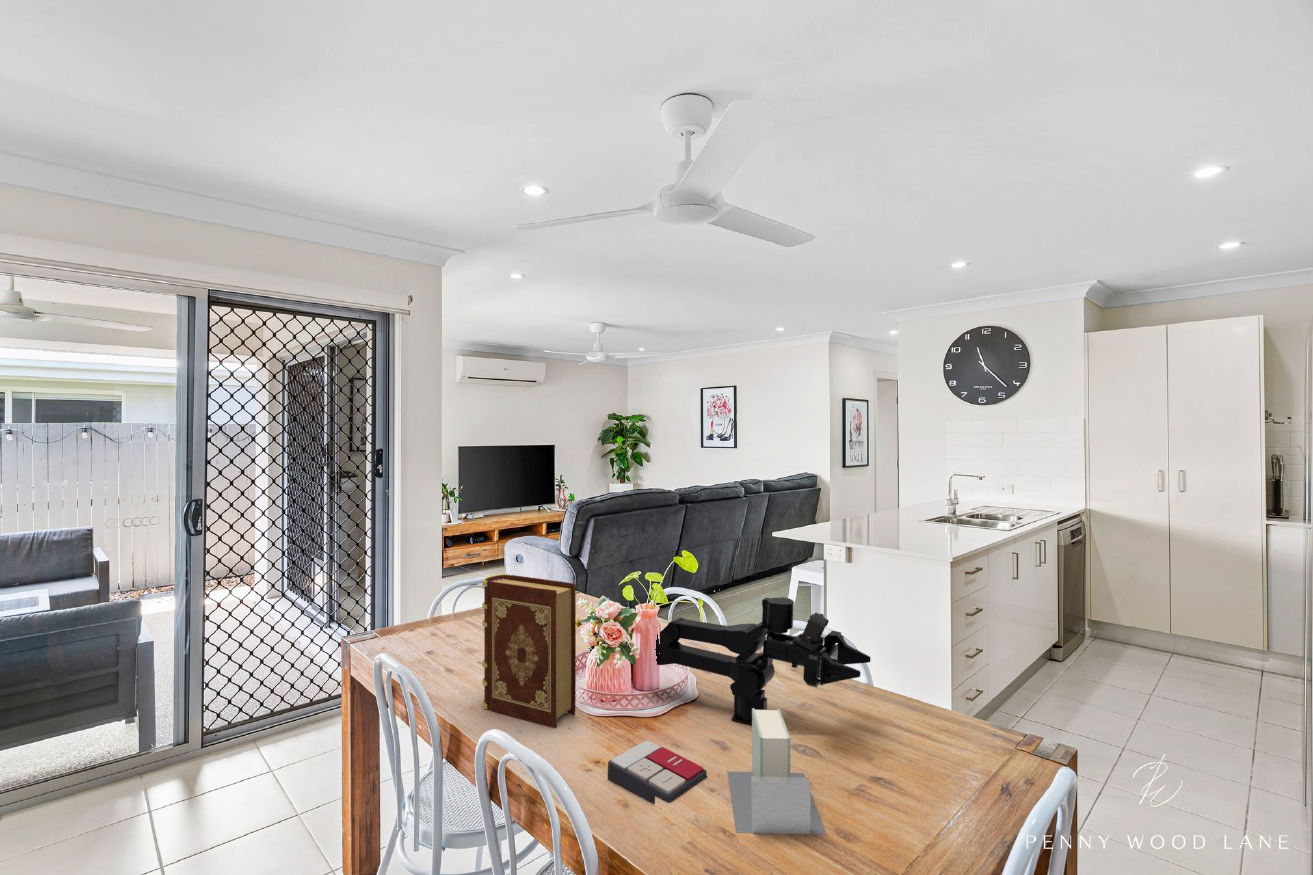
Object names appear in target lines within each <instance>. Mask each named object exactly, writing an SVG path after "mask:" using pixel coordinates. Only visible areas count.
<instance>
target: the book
mask: <svg viewBox="0 0 1313 875" xmlns="http://www.w3.org/2000/svg"><path fill="white" fill-rule="evenodd" d="M751 772H752V776H754V777H790V773H791V736H790V733H789V730H788V728H787V725H786V723H785V719H784V718H783V715H782V712H781V710H780V708H777V709H767V710H755V709H754V708H752V725H751Z"/></svg>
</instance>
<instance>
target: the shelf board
mask: <svg viewBox="0 0 1313 875" xmlns="http://www.w3.org/2000/svg"><path fill="white" fill-rule="evenodd" d="M751 776H752V771H728V770H727V779H728V786H729V794H730V799H731V807H732V813H733V814H732V815H733V819H734V821H733V822H734V826H735V833H737V834H753V833H752V829H751ZM790 777H805V778H806V775H805V773H804V772H790ZM765 834H770V835H772V834H774V835H775V834H776V835H778V834H779V835H781V834H780V833H764V835H765ZM809 835H811V836H812V835H815V836H816V835H819V836H820V835H822V836H826V835H827V832H826V830H825V827H824V824H823V821H822V819H821V816H820V813H819V810H818V808H817V806H816V802H815V800H814V797H813V795H812V792H811V791H810V834H809Z"/></svg>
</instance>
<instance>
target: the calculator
mask: <svg viewBox="0 0 1313 875" xmlns="http://www.w3.org/2000/svg"><path fill="white" fill-rule="evenodd" d="M707 771H708V770H706V769H705V768H704V767H703V766H702V765H699V764H697V763H695V762H693V761H692V760H689V759H688V758H686V757H684V756H682V755H679V754H678V753H676V752H673V751H672V750H670V749H668V748H666V747H663V746H660V745H659V744H656V743H654V742H653V741H650V740H647V739H646V740H644V741H642V742H640V743H638V744H637V745H635V746H633V747H632V748H629V749H628V750H626V751H624V752H622V753H621V754H619V755H617V756H615V757H613V758H612V759H610V760H609V761H607V780H608V781H609V782H611V783H613V784H615V785H617V786H618V787H621V788H623V789H627V790H629V792H631V793H632V794H634V795H637V796H638V797H640V798H642V799H644V800H645V801H647V802H649V803H651V804H653V805H655V804H656V798H658V799H660V800H662V801H664V802H666V803H671V802H672V801H674V800H675V799H677V798H678V797H680V796H682V795H683V794H684V793H685V792H688V790H690V789H692V787H694V786H696V785H697V784H698V783H700V782H702V781H703V780H704V779H705V778H707Z"/></svg>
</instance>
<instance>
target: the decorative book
mask: <svg viewBox="0 0 1313 875" xmlns="http://www.w3.org/2000/svg"><path fill="white" fill-rule="evenodd" d="M481 583H482V584H481V585H482V586H483V587H484V588H483V589H484V590H483V591H484V593H483V594H484V598H483V599H484V601H483V602H482V604H481V607H482V608H483V609H484V616H483V617H484V619H483V620H482V622H481V623H482V627H484V628H483V629H484V632H483V634H484V643H483V644H484V646H483V647H484V650H483V651H484V653H483V654H484V655H483V656H484V659H483V661H482V663H481V664H482V667H483V668H484V673H483V675H484V677H483V678H482V680H481V681H482V682H481V684H482V685H483V686H484V694H483V695H484V696H483V697H484V699H483V700H482V708H483V709H484V710H489V711H491V712H494V713H498V714H499V713H500V714H503V715H506V716H510V717H513V718H516V719H521V720H525V721H527V722H530V723H531V722H532V723H535V724H539V725H543V726H546V727H550V728H557V727H558V725H557V719H558V718H559V717H562V716H563V715H564V714H565V713H567V714H569V715H573V716H575V715H576V699H577V698H576V695H577V694H576V692H577V691H576V688H577V687H576V685H577V684H576V683H577V682H576V681H577V680H576V678H577V677H576V674H577V672H576V671H577V669H576V667H577V666H576V665H577V664H576V662H577V661H576V660H577V658H576V657H577V656H576V653H577V652H576V650H577V648H576V638H577V637H576V634H577V633H576V630H577V629H576V627H577V626H576V623H577V622H576V620H577V619H576V614H577V613H576V609H577V608H576V606H577V605H576V584H575V583H573V582H566V581H560V580H551V579H544V578H536V577H531V576H530V577H529V576H522V575H515V574H508V573H499V574H493V575H489V576H487V577H485V578H483V579H482V582H481Z"/></svg>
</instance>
